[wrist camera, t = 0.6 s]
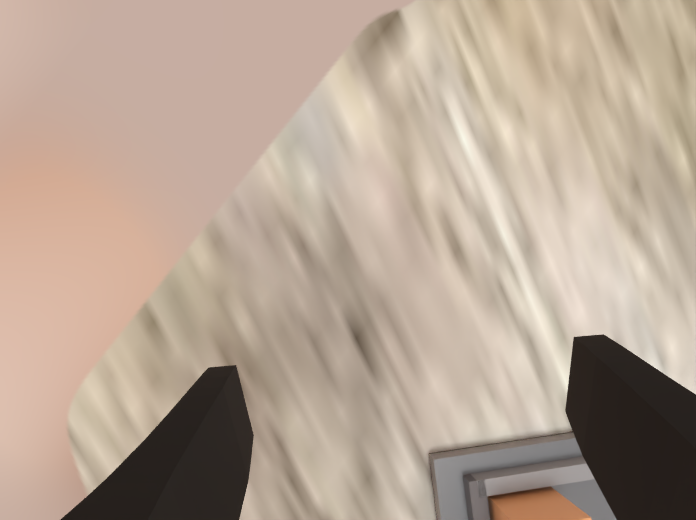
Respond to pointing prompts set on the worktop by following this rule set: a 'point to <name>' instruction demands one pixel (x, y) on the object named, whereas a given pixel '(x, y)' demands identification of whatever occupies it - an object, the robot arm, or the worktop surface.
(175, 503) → the robot arm
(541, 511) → the orange block
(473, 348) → the worktop surface
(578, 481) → the gray compartment tray
